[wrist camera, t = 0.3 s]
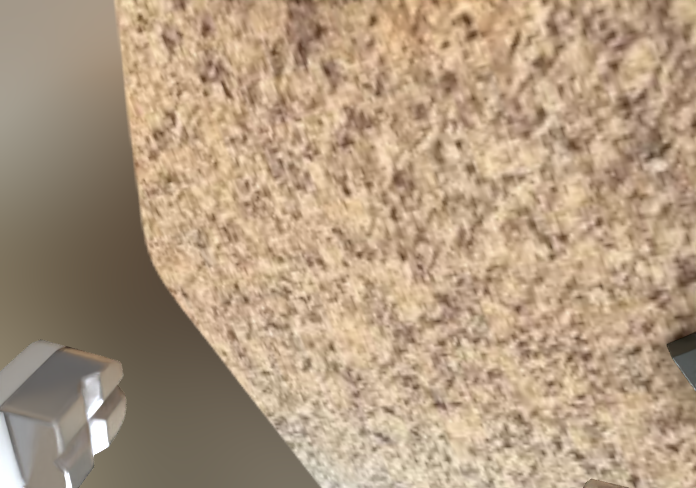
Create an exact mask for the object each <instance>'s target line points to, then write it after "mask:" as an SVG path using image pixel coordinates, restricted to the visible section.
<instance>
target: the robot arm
mask: <svg viewBox="0 0 696 488" xmlns="http://www.w3.org/2000/svg"><path fill="white" fill-rule="evenodd" d="M122 378H123V370H122V365H121V362H119V361H117V360H113V359H110V358H107V357H103V356H100V355H96V354H92V353H89V352H85V351H82V350H78V349H75V348H71V347H67V346H62V345H59V344H55V343H52V342H48V341H44V340H39V341H36V342H33V343H31V344H30V345H29V346H27V348H25V349H24V350H23V351H22V352H21V353H20V354H19V355H18V356H17V357H15V358H14V359H13V360H12V361H11V362H10V363H9V364H8V365H7V366H6V367H5V368H3V369H2V370H1V371H0V488H23V487H25V488H79V487H80V485H81V484H82V483H83V481H84V480H85V478H86V477H87V476H88V474H89V473H90V472H91V470H92V469H93V468H94V457H93V454H95V453H97V452H99V451H101V450H102V449H105V448H106V447H108V446H109V445H110V444H111V442H112V441H113V440H114V438H115V437H116V435H117V434H118V432H119V430H120V427H121V425H122V422H123V420H124V418H125V411H126V405H127V404H126V395H125V393H124V392H123V391H122V390H121V388H120V387H119V386H118V383H119V382H120V380H121V379H122ZM583 488H628V487H624V486H620V485H616V484H612V483H607V482H603V481H599V480H595V479H590V480H589V481H587V482H586V483H585V485H584V487H583Z"/></svg>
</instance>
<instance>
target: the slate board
mask: <svg viewBox="0 0 696 488" xmlns="http://www.w3.org/2000/svg"><path fill="white" fill-rule="evenodd" d="M667 347H668V350H669V352H670V355H671V357H672V359H673V360H674V362H675V363H676V364H677V366H678V367H679V369H680V370H681V371H682V373H683V374H684V376H685V377H686V378H687V380H688V381H689V383H690V384H691V385H692V387H693V388H694V390H695V391H696V333H694V334H691V335H689V336H686V337H684V338H681V339H679V340H676V341H674V342H671V343H669V344H667Z"/></svg>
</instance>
